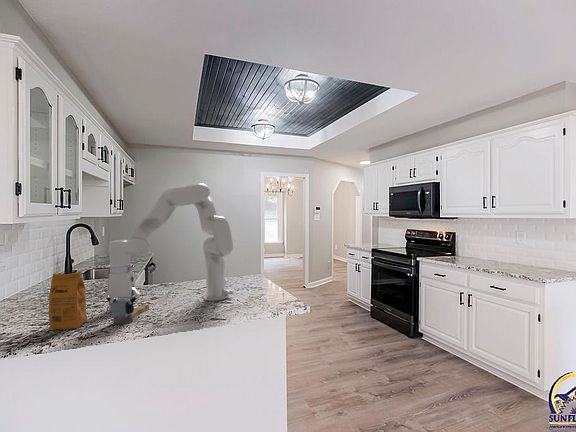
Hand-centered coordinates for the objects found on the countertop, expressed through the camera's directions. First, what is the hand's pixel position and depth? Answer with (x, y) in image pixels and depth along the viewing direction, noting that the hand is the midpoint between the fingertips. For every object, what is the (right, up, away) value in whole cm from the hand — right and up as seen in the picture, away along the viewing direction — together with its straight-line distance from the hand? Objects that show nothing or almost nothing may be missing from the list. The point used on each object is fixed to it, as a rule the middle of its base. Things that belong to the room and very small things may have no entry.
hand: (122, 312), depth 130 cm
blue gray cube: (0, -1, 0) cm, 1 cm away
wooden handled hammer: (+1, -4, +7) cm, 8 cm away
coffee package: (-21, -5, -2) cm, 22 cm away
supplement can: (-10, -4, +17) cm, 20 cm away
